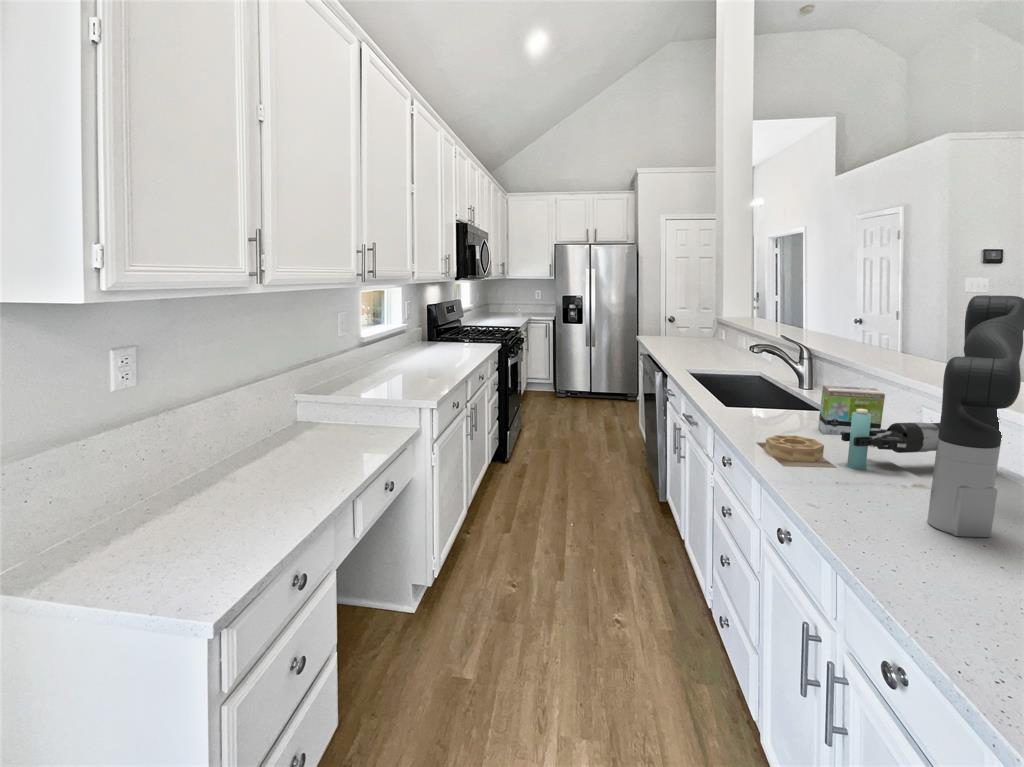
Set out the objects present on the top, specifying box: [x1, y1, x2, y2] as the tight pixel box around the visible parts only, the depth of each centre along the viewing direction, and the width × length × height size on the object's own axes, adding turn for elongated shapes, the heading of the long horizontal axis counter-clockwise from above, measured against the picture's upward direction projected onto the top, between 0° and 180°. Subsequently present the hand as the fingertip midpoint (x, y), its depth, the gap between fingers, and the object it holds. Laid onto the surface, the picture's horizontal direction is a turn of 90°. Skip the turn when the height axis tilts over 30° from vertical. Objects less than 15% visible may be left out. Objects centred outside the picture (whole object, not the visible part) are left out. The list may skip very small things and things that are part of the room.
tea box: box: [818, 385, 886, 437], centre depth 174 cm, size 15×10×15 cm
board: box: [755, 441, 838, 469], centre depth 152 cm, size 22×13×1 cm, turn 174°
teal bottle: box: [846, 409, 871, 471], centre depth 140 cm, size 4×4×16 cm
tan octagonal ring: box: [764, 434, 825, 462], centre depth 152 cm, size 13×13×4 cm
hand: (848, 439), depth 139 cm, fingers closed on teal bottle, 4 cm apart
